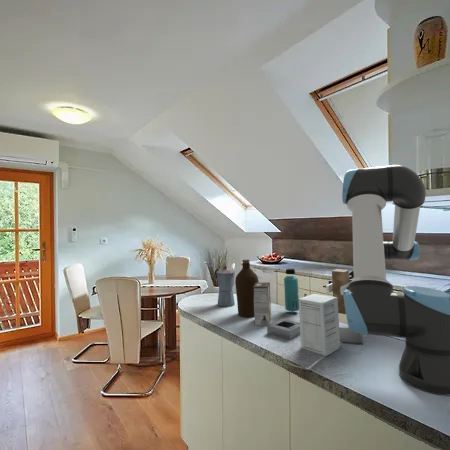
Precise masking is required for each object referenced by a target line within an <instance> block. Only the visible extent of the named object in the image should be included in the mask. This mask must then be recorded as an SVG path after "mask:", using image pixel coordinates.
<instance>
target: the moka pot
mask: <svg viewBox="0 0 450 450" xmlns="http://www.w3.org/2000/svg"><path fill="white" fill-rule="evenodd" d="M223 268H224V269H220V268H218V267H217V268H216V270H215V272H214V274H215V280H216V284H217V285H216V286H218V296H217V306H219V307H222V306H230V307H233V306H235V304H236V303H235V297H234V284H235V275H236V272H235V270H233V269H227V268H228V267H227V266H226V265H225V266H223ZM232 305H233V306H232Z"/></svg>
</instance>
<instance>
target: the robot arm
mask: <svg viewBox="0 0 450 450" xmlns="http://www.w3.org/2000/svg"><path fill="white" fill-rule="evenodd" d="M342 181H343V182H342V193H341V196H342V197H341V199H342V203H343V204H344V205H346V207H347V209H348V210H349V211H351V212H352V213H351V215H352V216H351V217H352V224H351V225H352V258H353V259H352V260H353V262H352V265H353V266H352V267H353V268H352V269H353V270H352V271H349V284H346V285H344V286H342V287H340V291H341V295H343V296H344V303H345V310H346V314H345V315H346V320H347V321H346V322H347V326H348V327H347V328H349V329H350V330H351V331H352V332H354V333H360V334H361V335H366V336H370V335H371V336H384V337H392V338H393V337H395V338H404V339H405V347H404V350H403V353H402V355H401V358H400V361H399V363H398V374H399V375H398V376H399V377H400V378H401V380H402V381H404V383H406V384H407V385H409V386H411V387H414V388H415V389H419V390H421V391H423V392H427V393H431V394H435V395H436V394H437V395H442V396H450V293H449V292H445V291H442V290H440V289H436V288H430V287H425V286H419V285H417V286H416V285H412V286H411V285H406V286H404V287H403V289H402V292H400V291H399V292H398V291H394V286H393V284H392V283H391V282H390V281H388V280H387V272H386V261H416V260H418V259H419V258H420V245H419V243H418V242H417V241H415V240H416V234H417V230H418V229H417V227H418V222H419V216H420V209H421V206H423V204H425V202H426V195H427V193H426V191H427V190H426V187H425V184H424V182H423V180H422V178H421V177H420V176H419V175H418V173H416V172H415V171H414V170H413V169H411V168H408V167H406V166H405V165H400V164H392V165H385V166H384V165H383V166H375V167H374V166H373V167H365V168H361V167H360V168H359V167H358V168H355V169H349V170H347V171H346V172H345V174H344V177H343V180H342ZM389 202H392V203H393V204H394V213H393V215H394V216H393V230H392V231H393V232H392V241H384V231H383V230H384V228H383V217H382V210H383V209H385V207H386V206H387V203H389ZM326 293H327V294H330V293H333V285H332V279H329V280H328V284H326Z"/></svg>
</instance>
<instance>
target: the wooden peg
mask: <svg viewBox="0 0 450 450" xmlns="http://www.w3.org/2000/svg"><path fill="white" fill-rule="evenodd" d="M349 273H350V270H349V269H341V268H340V269H339V268H336V269H333V270H331V280H332V285H333V291H332V297H337V299H338V314H342V315H346V310H345V303H344V296H343V295H341V291H340V287H342V286H344V285H346V284H349Z"/></svg>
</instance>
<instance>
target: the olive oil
mask: <svg viewBox="0 0 450 450" xmlns="http://www.w3.org/2000/svg"><path fill="white" fill-rule="evenodd" d="M241 265H242V268H241V270H240V271H239V272H238V273H237V274H236V277H235V279H234V284H235V293H236V294H235V295H236V303H237V314H238V316H239V317H241V318H253V317H254V318H255V316H254V295H253V287H254V285H255V283H260V281H259V278H258V275H257V274H256V272H255V271H253V270H252V268H251V267H250V266H251V263H250V259H242V263H241Z"/></svg>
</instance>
